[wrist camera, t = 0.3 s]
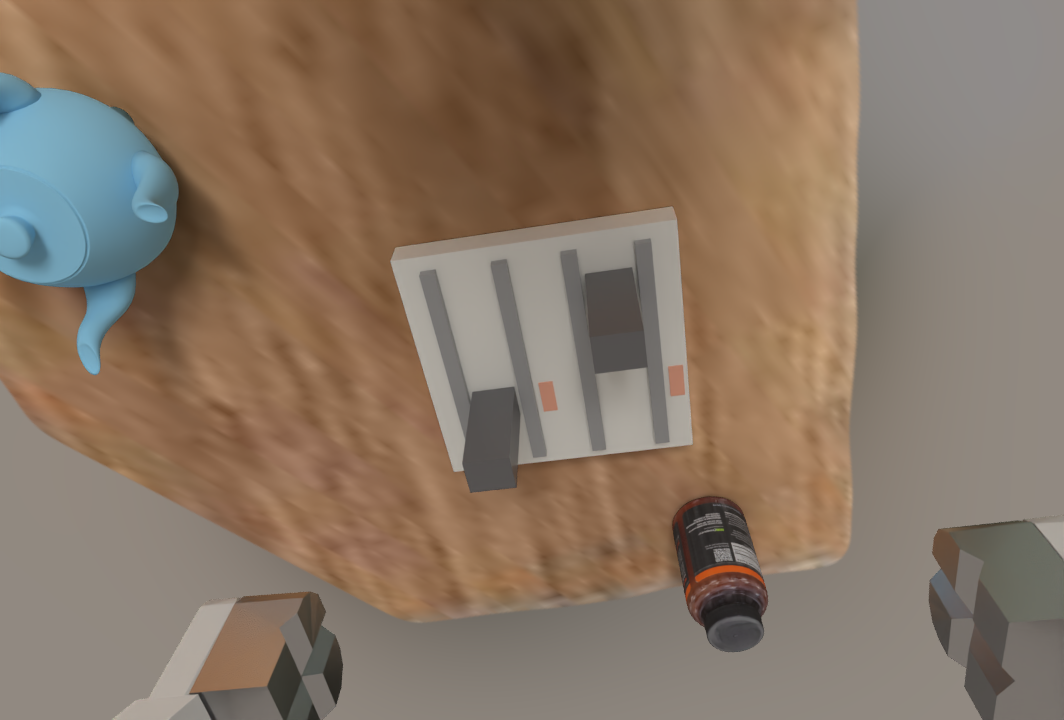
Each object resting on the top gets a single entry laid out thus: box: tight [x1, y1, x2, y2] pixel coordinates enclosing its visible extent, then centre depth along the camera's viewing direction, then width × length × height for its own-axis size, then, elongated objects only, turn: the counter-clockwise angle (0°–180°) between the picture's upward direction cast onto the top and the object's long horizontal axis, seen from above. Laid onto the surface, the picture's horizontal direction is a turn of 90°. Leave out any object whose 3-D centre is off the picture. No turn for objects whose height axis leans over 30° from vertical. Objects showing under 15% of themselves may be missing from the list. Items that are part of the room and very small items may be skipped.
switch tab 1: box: [462, 387, 521, 493], centre depth 52 cm, size 2×3×8 cm
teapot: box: [0, 72, 179, 375], centre depth 44 cm, size 13×13×10 cm
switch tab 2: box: [585, 267, 648, 374], centre depth 46 cm, size 2×3×8 cm
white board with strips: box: [390, 206, 693, 472], centre depth 53 cm, size 18×18×3 cm
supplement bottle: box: [673, 496, 768, 652], centre depth 59 cm, size 6×6×11 cm
